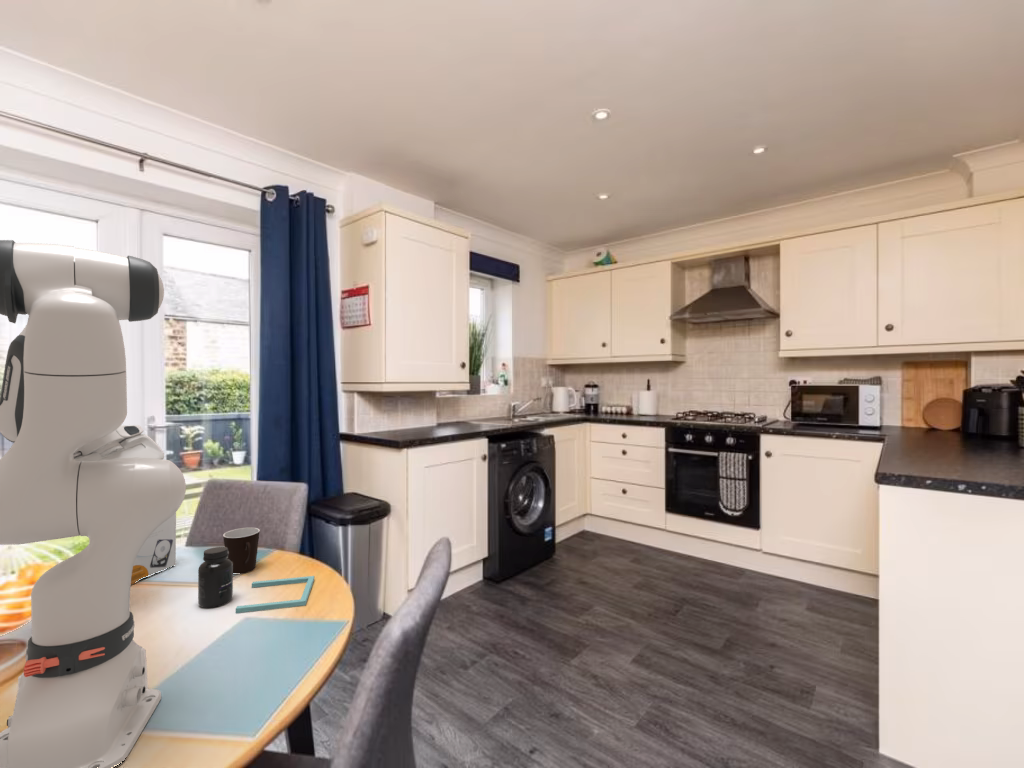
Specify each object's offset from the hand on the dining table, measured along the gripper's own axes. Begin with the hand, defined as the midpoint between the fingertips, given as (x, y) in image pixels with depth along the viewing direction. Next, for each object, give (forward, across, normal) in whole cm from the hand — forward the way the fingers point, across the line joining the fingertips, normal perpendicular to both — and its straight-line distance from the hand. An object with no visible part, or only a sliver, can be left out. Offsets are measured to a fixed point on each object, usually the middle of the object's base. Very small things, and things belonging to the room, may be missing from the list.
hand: (139, 493), depth 108 cm
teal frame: (+38, +4, -7) cm, 38 cm away
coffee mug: (+29, +15, +10) cm, 35 cm away
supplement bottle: (+30, -1, +3) cm, 30 cm away
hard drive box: (+15, +10, +29) cm, 34 cm away
